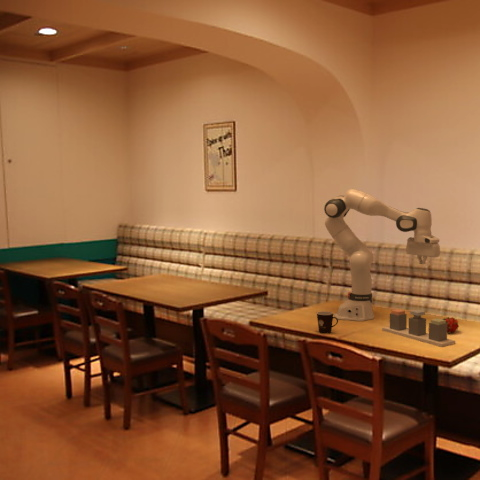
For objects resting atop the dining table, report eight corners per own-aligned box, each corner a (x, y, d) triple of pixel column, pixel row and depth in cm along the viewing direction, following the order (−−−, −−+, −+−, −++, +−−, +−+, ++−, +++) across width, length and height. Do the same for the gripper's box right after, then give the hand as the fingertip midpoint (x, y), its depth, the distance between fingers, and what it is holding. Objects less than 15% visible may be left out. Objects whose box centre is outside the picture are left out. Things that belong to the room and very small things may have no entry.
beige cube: (410, 320, 310) (410, 311, 310) (416, 318, 313) (417, 309, 312) (417, 321, 306) (418, 312, 305) (424, 320, 309) (424, 311, 308)
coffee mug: (313, 330, 326) (313, 312, 324) (328, 329, 329) (328, 310, 328) (324, 336, 315) (324, 316, 314) (339, 334, 318) (339, 315, 317)
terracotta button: (391, 319, 321) (391, 310, 320) (397, 317, 324) (397, 309, 323) (398, 321, 317) (398, 312, 316) (405, 319, 320) (405, 310, 319)
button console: (382, 330, 324) (382, 312, 322) (395, 327, 329) (395, 310, 328) (441, 347, 292) (441, 327, 291) (455, 343, 297) (455, 324, 296)
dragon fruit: (440, 337, 315) (454, 336, 322) (452, 329, 310) (467, 329, 317) (433, 321, 319) (447, 321, 326) (445, 314, 313) (460, 314, 321)
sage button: (430, 329, 300) (430, 319, 299) (437, 327, 302) (437, 318, 302) (438, 331, 296) (438, 321, 295) (445, 329, 298) (445, 320, 298)
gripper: (403, 237, 337) (403, 262, 338) (433, 240, 320) (433, 266, 321) (411, 236, 340) (411, 261, 342) (441, 239, 323) (441, 265, 324)
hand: (422, 264), depth 331 cm, fingers closed
